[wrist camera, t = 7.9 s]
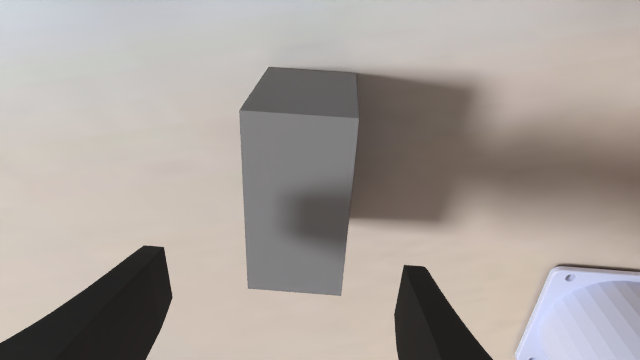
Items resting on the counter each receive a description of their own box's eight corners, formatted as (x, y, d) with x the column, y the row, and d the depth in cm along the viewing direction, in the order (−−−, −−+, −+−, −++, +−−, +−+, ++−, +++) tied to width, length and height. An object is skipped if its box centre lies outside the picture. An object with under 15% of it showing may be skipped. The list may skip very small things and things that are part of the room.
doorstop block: (355, 72, 19) (359, 118, 14) (342, 216, 23) (340, 295, 17) (269, 66, 19) (239, 110, 14) (270, 211, 23) (247, 288, 18)
